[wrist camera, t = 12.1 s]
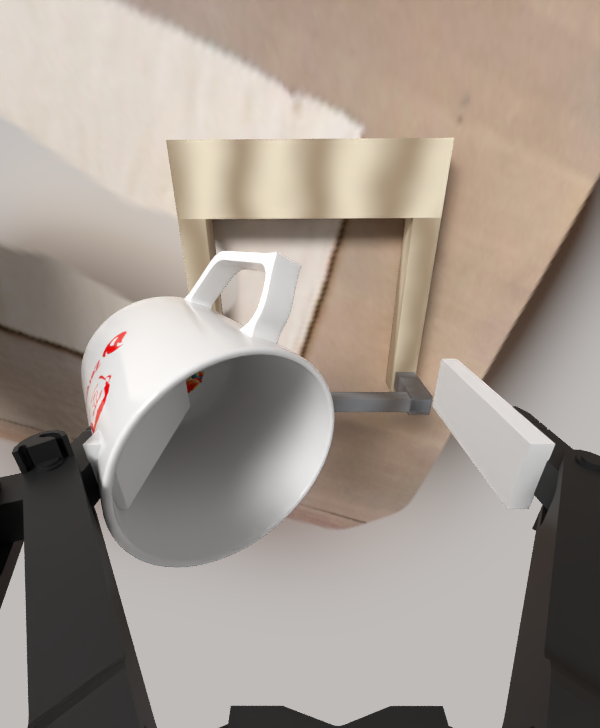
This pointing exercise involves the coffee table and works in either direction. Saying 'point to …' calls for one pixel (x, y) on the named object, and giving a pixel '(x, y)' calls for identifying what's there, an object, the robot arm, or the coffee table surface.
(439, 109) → the coffee table surface
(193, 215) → the beige and grey frame
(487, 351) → the coffee table surface
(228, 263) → the mug
